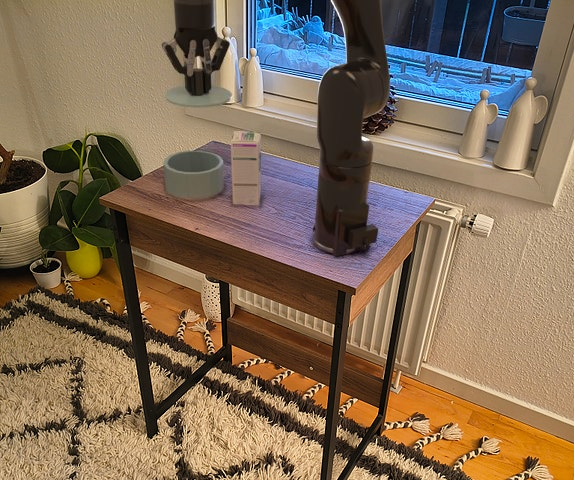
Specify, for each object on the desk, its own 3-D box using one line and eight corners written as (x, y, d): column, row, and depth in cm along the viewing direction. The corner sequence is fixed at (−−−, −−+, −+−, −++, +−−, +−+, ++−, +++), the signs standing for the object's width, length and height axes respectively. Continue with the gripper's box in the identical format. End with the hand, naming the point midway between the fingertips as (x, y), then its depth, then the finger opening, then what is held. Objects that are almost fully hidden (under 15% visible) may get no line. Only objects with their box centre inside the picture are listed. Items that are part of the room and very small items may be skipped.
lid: (242, 106, 116) (242, 75, 113) (177, 113, 111) (174, 82, 107) (217, 87, 126) (217, 58, 123) (156, 93, 121) (154, 64, 117)
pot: (232, 195, 126) (231, 168, 123) (176, 205, 122) (174, 177, 118) (211, 173, 136) (210, 147, 132) (158, 181, 131) (156, 155, 127)
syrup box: (259, 207, 122) (260, 141, 114) (231, 206, 122) (230, 139, 114) (261, 195, 127) (262, 131, 119) (234, 194, 127) (233, 129, 118)
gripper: (163, 4, 102) (171, 102, 112) (236, 1, 108) (237, 95, 118) (151, -3, 108) (159, 91, 118) (221, -6, 113) (223, 84, 123)
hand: (198, 92), depth 118 cm, fingers closed on lid, 2 cm apart
